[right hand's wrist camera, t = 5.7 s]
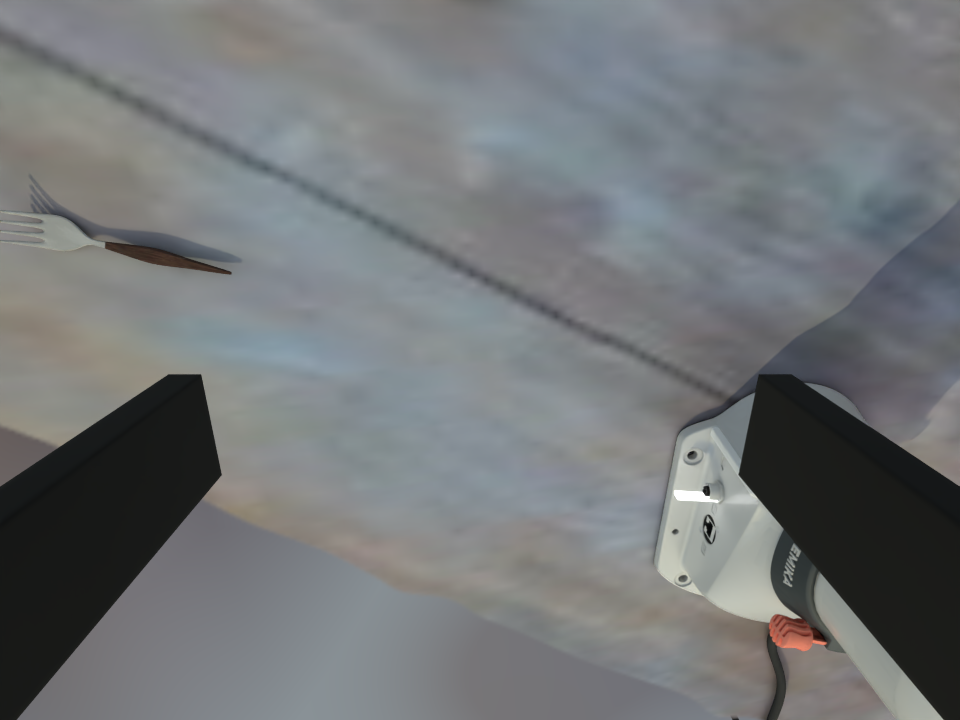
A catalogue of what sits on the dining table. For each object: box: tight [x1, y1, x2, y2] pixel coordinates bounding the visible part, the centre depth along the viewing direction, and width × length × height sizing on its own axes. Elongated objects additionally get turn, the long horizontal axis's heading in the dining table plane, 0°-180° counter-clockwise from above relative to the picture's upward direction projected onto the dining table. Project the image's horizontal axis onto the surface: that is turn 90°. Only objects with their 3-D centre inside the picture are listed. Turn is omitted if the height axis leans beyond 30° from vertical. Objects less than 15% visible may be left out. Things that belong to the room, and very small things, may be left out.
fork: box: [0, 210, 232, 274], centre depth 37 cm, size 3×16×2 cm, turn 76°
